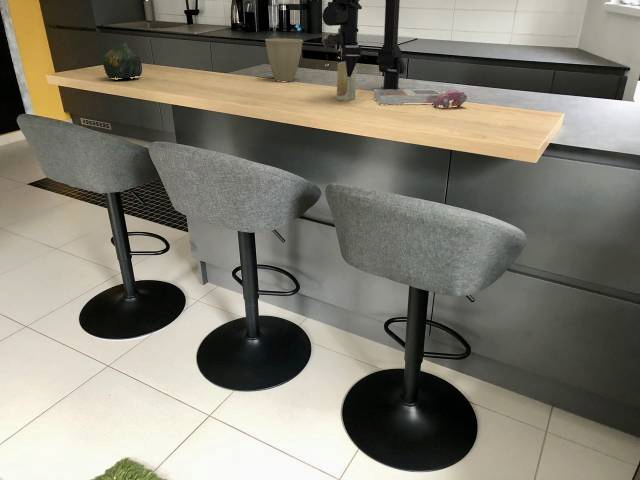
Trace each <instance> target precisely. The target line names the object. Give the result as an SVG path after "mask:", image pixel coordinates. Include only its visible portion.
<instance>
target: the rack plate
mask: <svg viewBox="0 0 640 480" xmlns="http://www.w3.org/2000/svg"><path fill="white" fill-rule="evenodd" d="M441 93H442V92H441V91H439V90H438V89H434V88H433V89H431V88H429V89H426V88H424V89H419V88H418V89H417V88H416V89H414V88H412V89H410V88H409V89H406V88H403V89H401V88H400V89H382V88H380V89H379V88H378V89H376V88H375V89H373V99H374V98H375V99H376V100H377V101H378V102H379V103H380V104H404V103H433V102H434V100H435V99H436V98H437V97H438V96H439V95H440V94H441ZM375 99H374V100H375ZM376 100H375V101H376ZM377 101H376V102H377ZM378 102H377V103H378ZM379 103H378V104H379ZM380 104H379V105H380Z"/></svg>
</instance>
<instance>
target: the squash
mask: <svg viewBox="0 0 640 480" xmlns="http://www.w3.org/2000/svg"><path fill="white" fill-rule="evenodd" d="M102 58H103V59H102V64H103V69H104V71H105V72H104V73H105V75H106V76H107V78H109V79H110V78H115V77H116V78H124V77H125V78H130V77H135V76H140V77H141V75H142V72H143V65H142V64H143V63H142V60H141V58H140V56H139V54H138V53H137V52H136V51H135V49H134V48H133V47H132V46H131V44H130V43H129V42H127V41H125V42H121V43H118V44H117V45H115V46H113V47H112V48H110V49H108V50H107V51H106V52H105V53H104V56H103V57H102ZM125 78H124V79H125Z"/></svg>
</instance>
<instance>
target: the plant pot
mask: <svg viewBox="0 0 640 480" xmlns="http://www.w3.org/2000/svg"><path fill="white" fill-rule="evenodd" d="M264 40H265V47H266V52H267V57H268V58H267V59H268V60H269V61H268V62H269V66H270V69H271V72H272V75H273V78H274V80H279V81H292V82H293V81H294V80H295V77H296V74H297V71H298V68H299V64H300V60H301V54H302V48H303V41H304V40H303V39H298V38H297V39H296V38H266V39H264Z"/></svg>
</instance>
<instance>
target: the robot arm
mask: <svg viewBox="0 0 640 480" xmlns="http://www.w3.org/2000/svg"><path fill="white" fill-rule="evenodd" d="M360 1H361V0H331V1H327V5H326V7H325V8H324V10H322V11H323V13H322V14H321V17H322V22H323V23H324V25H326V26H330V27H332V26H333V27H334V26H339V28H338V29H337V32H336V33H330V34H327V36H325V37H323V38H322V39H321V40H322V42H323V46H324V48H325V50H328V49H331V48H332V47H334V46H335V50H336V53H337V54H338V55H339V56H340V60H341V62H344V61H345V63H346V71H347V77H351V75H352V73H353V70H354V68H355V66H356V64H358V61H359V59H360V58H361V55H362V47H361V46H360V45H359V42H358V33H359V28H358V27H359V26H358V23H359V21H358V19H359V10H362V9H363V6H362V5H360V3H359V2H360ZM400 2H401V0H385V5H384V10H385V11H384V28H383V29H384V30H383V34H384V35H383V45H382V46H381V48H379V49H378V50H377V59H376V60H377V63H378V71H379V73H384V74H383V86H380V89H401V88H400V87H399V83H400V75H403V74H405V73H406V68H407V67H406V65H405V63H404V61H403V58H402V50H401V48H400V46H399V44H398V36H399V23H400V22H399V18H400V17H399V16H400V4H401V3H400ZM356 67H357V66H356Z"/></svg>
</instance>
